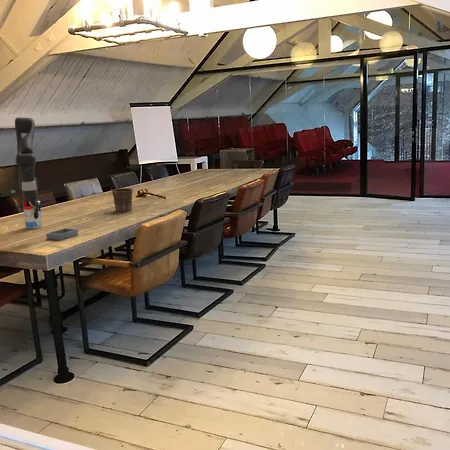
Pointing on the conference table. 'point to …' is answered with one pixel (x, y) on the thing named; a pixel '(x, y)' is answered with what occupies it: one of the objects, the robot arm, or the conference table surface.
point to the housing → (62, 234)
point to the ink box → (31, 216)
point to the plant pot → (122, 199)
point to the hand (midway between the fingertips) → (32, 218)
